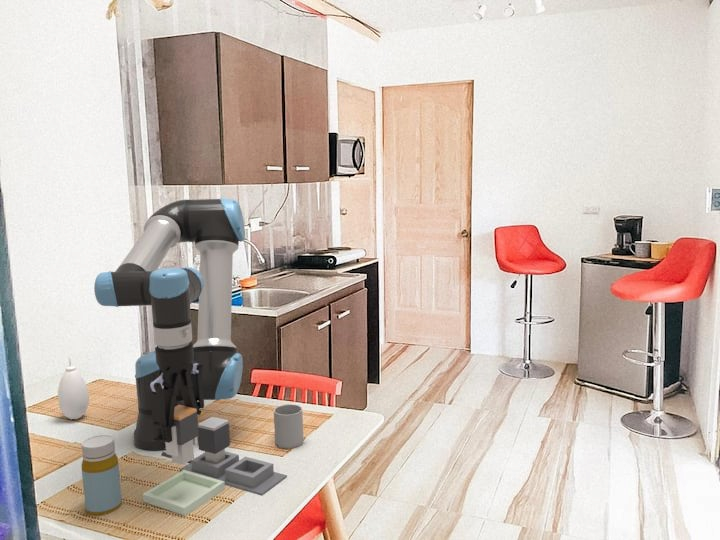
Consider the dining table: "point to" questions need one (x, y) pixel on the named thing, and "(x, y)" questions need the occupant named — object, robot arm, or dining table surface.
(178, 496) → the parts tray
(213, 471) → the strip
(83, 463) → the bottle
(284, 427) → the cup
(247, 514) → the dining table surface
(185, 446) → the plug
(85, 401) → the white air blower
